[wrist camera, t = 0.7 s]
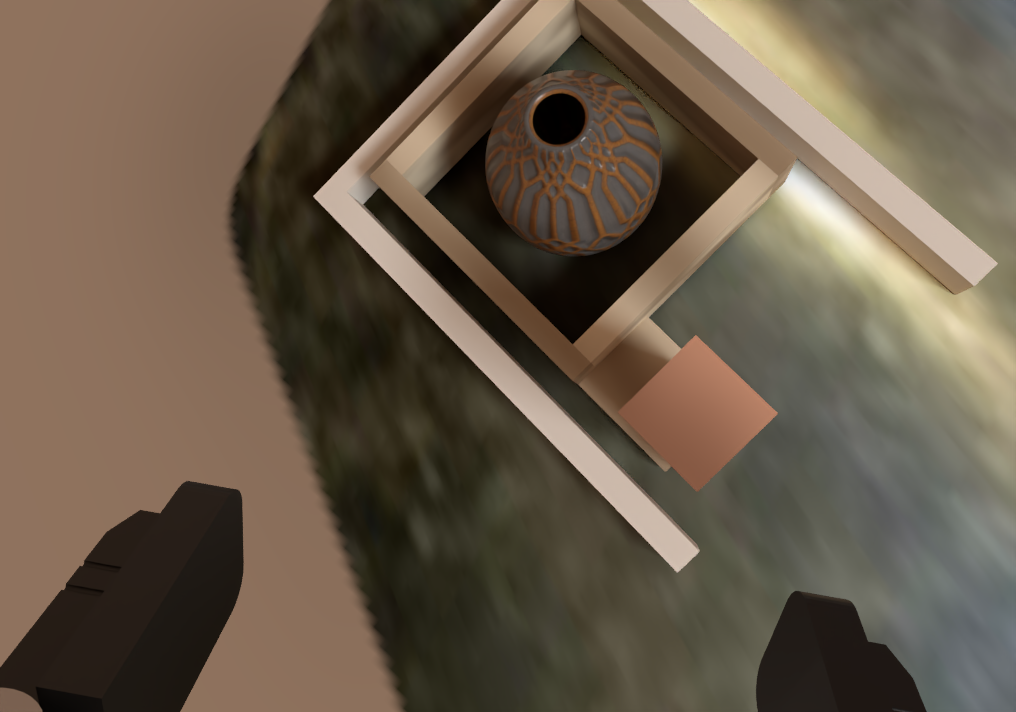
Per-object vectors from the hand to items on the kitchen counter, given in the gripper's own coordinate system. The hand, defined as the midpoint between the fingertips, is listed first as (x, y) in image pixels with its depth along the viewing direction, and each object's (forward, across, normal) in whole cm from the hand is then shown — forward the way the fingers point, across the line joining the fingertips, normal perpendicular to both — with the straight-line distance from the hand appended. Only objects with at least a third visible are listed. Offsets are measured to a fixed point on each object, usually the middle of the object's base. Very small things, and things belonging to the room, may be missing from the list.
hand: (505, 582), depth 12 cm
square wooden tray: (+25, -3, +3) cm, 25 cm away
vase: (+26, -1, +2) cm, 27 cm away
